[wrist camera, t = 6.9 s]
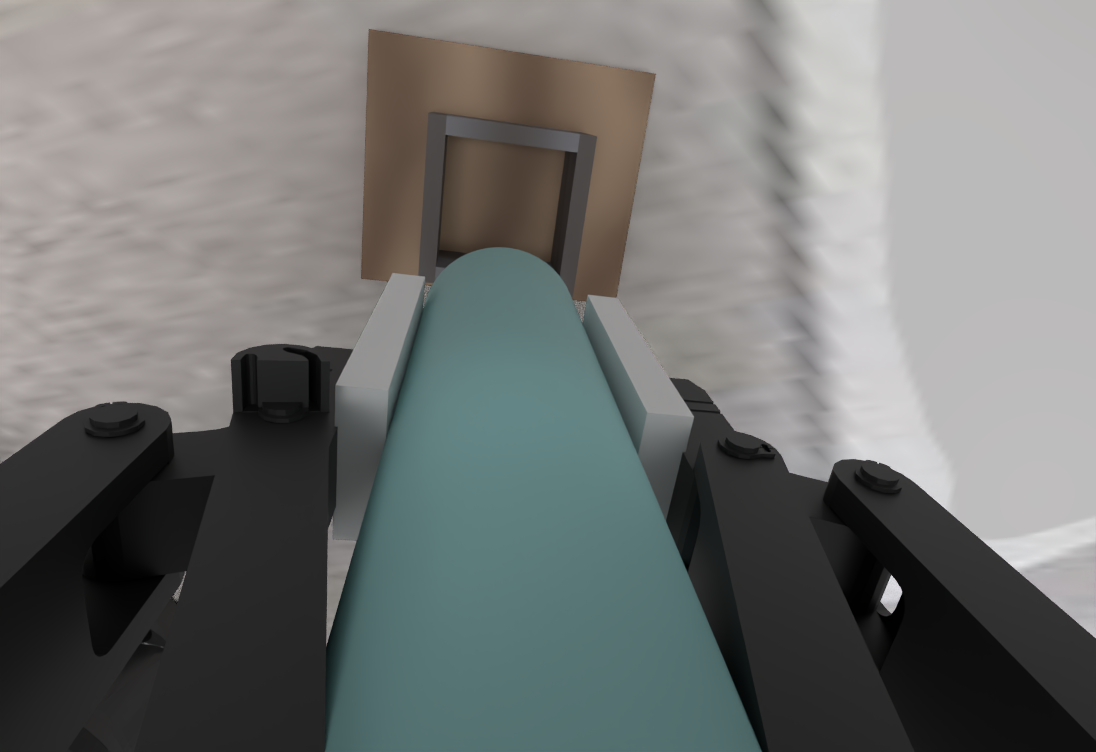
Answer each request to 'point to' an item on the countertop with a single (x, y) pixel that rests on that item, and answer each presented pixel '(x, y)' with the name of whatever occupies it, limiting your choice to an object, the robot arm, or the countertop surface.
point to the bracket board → (498, 159)
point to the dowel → (518, 552)
